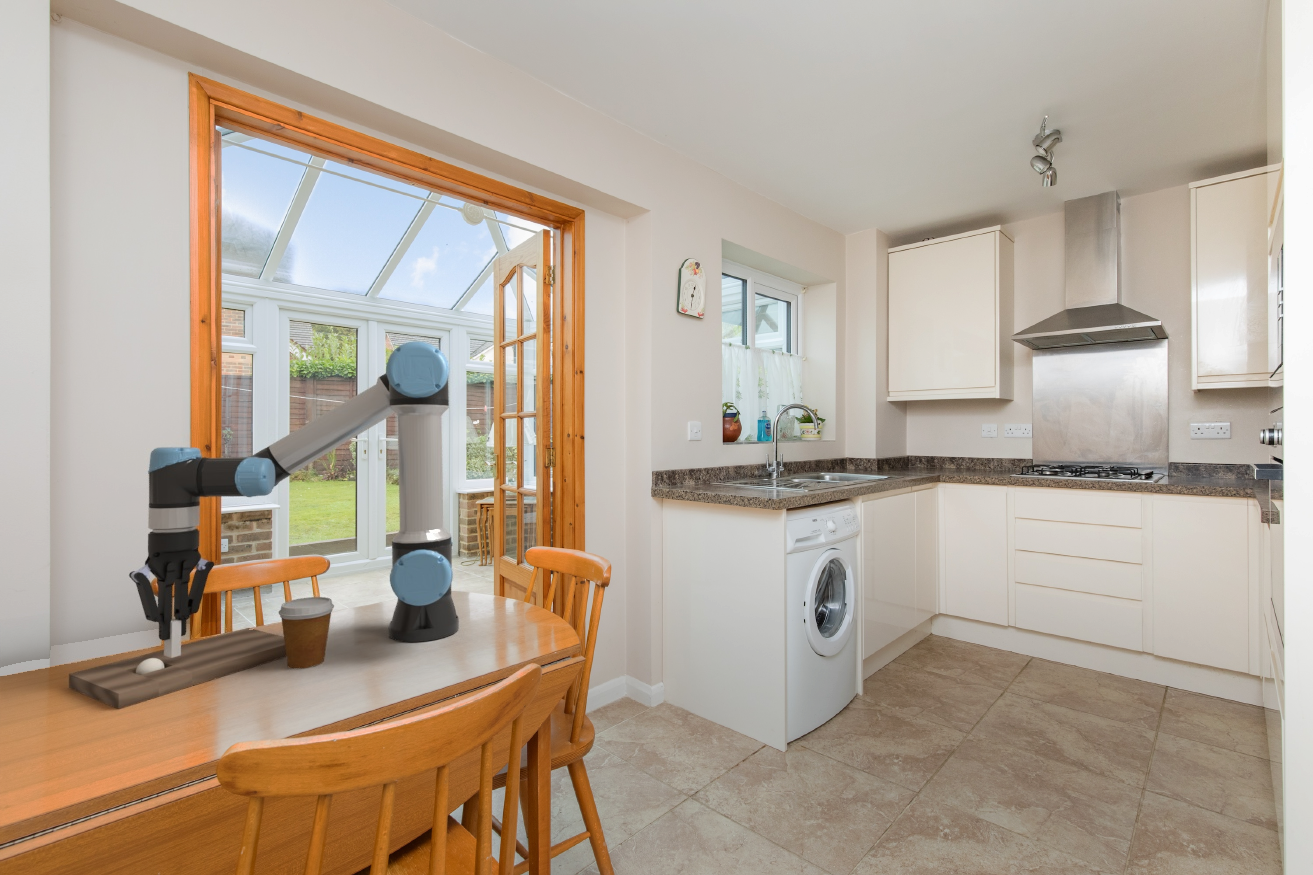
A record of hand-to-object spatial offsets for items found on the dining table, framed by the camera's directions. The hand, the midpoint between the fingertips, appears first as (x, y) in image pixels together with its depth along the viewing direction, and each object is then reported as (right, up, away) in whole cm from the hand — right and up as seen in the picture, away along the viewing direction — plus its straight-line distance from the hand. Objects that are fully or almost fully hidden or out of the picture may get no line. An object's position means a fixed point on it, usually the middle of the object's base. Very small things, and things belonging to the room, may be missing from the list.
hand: (172, 655), depth 112 cm
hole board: (+2, -4, +3) cm, 5 cm away
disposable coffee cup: (+21, -4, +7) cm, 23 cm away
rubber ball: (-2, -2, -3) cm, 4 cm away
